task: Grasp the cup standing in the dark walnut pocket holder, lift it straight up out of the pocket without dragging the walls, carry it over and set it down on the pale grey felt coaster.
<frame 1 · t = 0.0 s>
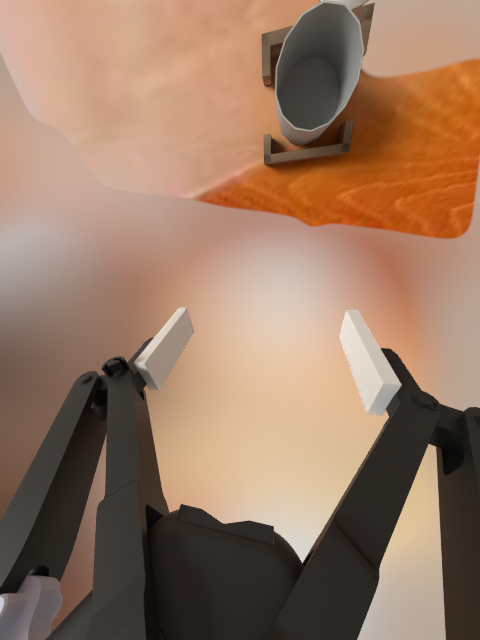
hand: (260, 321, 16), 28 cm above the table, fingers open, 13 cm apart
pocket holder: (306, 105, 27), on the table
cup: (306, 106, 27), on the table
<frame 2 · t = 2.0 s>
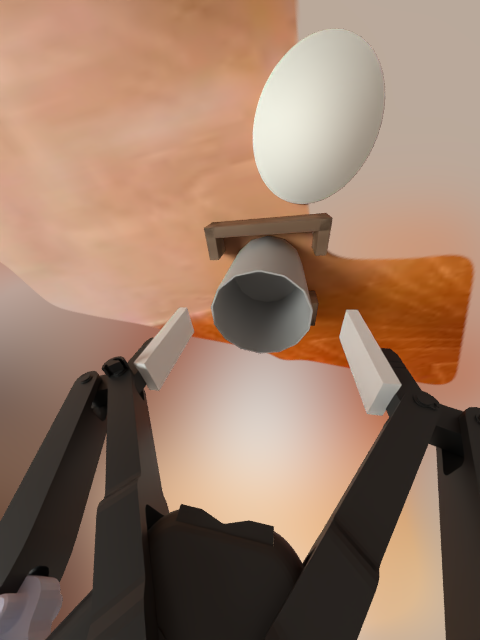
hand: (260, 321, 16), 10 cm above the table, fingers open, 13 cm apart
pocket holder: (267, 271, 24), on the table
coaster: (312, 134, 16), on the table
cup: (267, 270, 24), on the table
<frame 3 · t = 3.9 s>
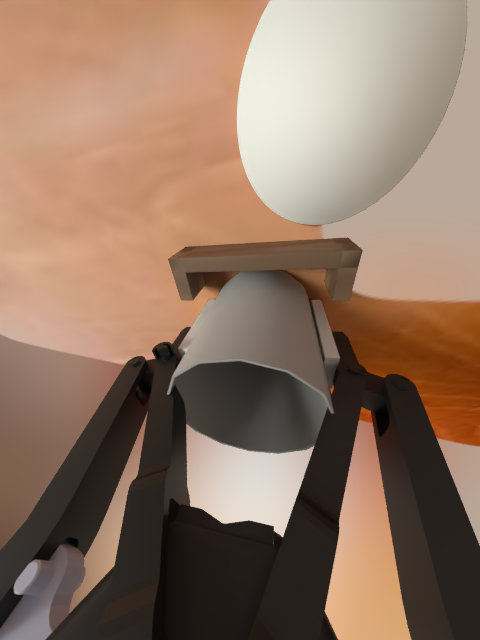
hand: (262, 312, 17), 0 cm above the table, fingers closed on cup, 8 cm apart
pocket holder: (262, 310, 18), on the table
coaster: (332, 118, 10), on the table
cup: (262, 309, 18), on the table, touching gripper
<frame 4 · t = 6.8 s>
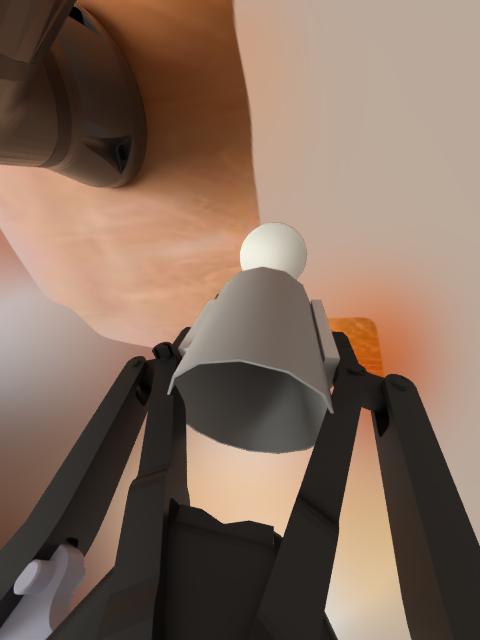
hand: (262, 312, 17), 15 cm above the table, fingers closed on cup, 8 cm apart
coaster: (272, 258, 29), on the table
cup: (262, 309, 18), point 15 cm above the table, touching gripper
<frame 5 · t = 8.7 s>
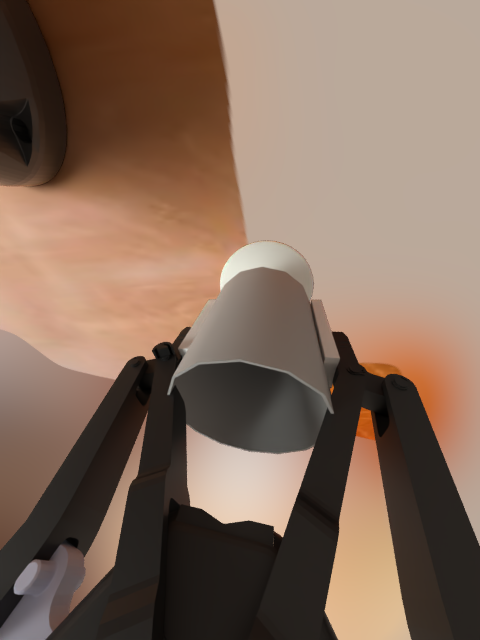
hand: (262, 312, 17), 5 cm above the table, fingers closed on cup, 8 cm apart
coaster: (265, 288, 21), on the table
cup: (262, 309, 18), point 4 cm above the table, touching gripper
when the fingers open (2 cm above the table, at t = 10.1 s): cup drops 2 cm, resting on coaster.
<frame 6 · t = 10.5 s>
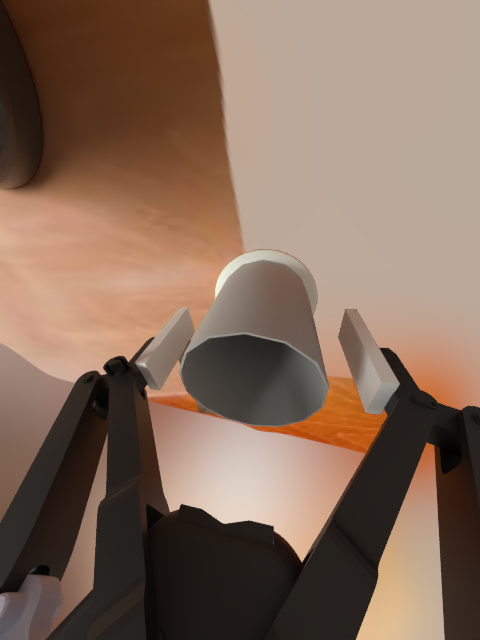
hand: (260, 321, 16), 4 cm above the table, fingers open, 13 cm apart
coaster: (264, 300, 19), on the table
cup: (263, 300, 19), resting on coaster
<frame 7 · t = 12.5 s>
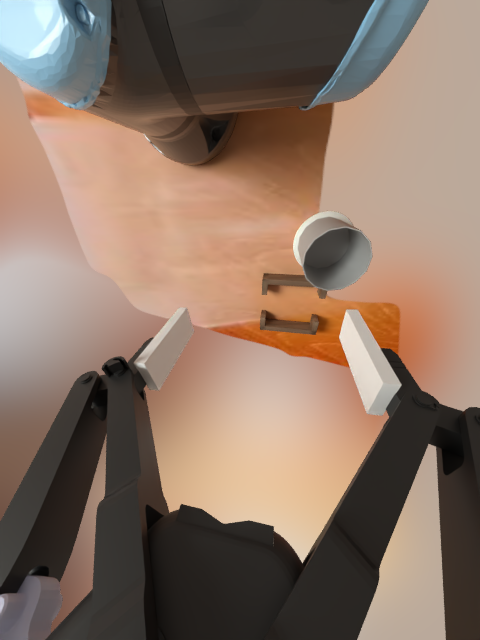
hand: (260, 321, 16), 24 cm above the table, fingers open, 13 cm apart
pocket holder: (290, 301, 41), on the table
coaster: (322, 243, 33), on the table
cup: (322, 243, 33), resting on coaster
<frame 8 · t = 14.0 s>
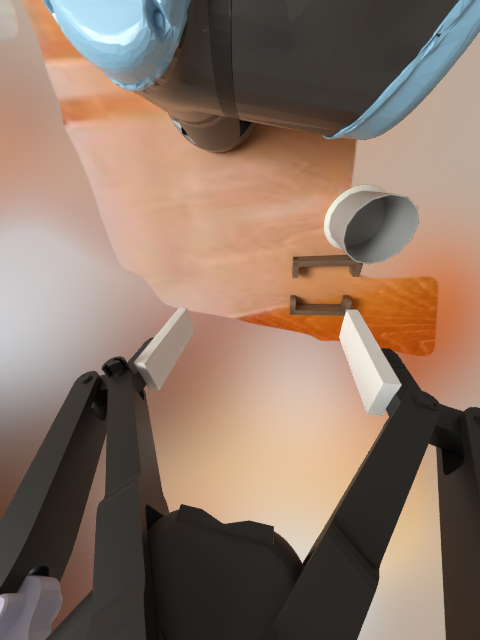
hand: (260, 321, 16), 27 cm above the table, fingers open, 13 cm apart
pocket holder: (320, 284, 41), on the table
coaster: (354, 219, 33), on the table
cup: (355, 219, 33), resting on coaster
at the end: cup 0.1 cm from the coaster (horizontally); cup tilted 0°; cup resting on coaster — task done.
